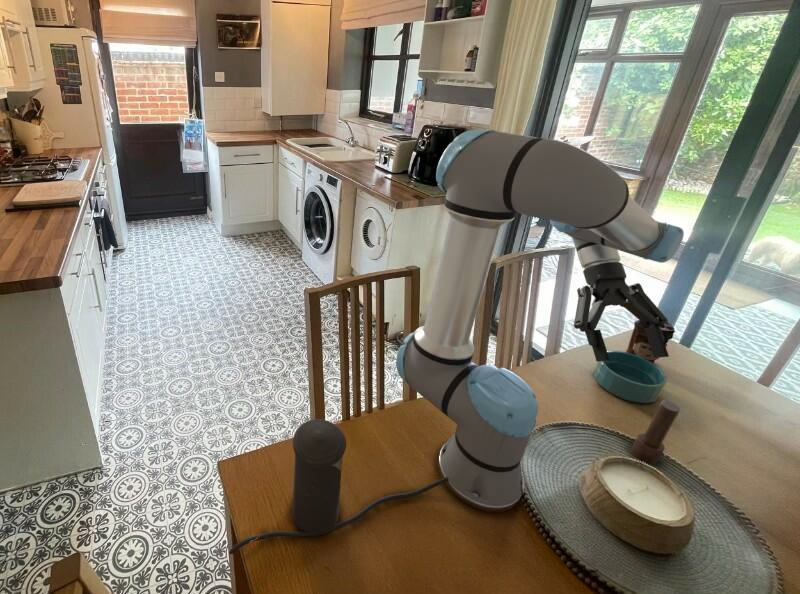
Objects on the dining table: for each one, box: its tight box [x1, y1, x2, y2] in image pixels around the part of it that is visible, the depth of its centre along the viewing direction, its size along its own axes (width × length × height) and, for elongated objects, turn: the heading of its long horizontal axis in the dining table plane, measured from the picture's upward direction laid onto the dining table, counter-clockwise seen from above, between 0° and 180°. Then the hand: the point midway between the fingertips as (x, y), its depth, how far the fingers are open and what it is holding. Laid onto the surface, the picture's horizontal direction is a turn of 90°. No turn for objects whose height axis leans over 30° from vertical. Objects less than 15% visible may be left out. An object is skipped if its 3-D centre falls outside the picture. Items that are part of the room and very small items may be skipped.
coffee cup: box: [625, 317, 676, 365], centre depth 110 cm, size 9×8×13 cm
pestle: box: [630, 400, 681, 466], centre depth 83 cm, size 4×4×14 cm
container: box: [291, 418, 347, 537], centre depth 70 cm, size 9×9×20 cm
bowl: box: [593, 350, 668, 404], centre depth 103 cm, size 13×13×6 cm
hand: (632, 359), depth 88 cm, fingers open, 13 cm apart
